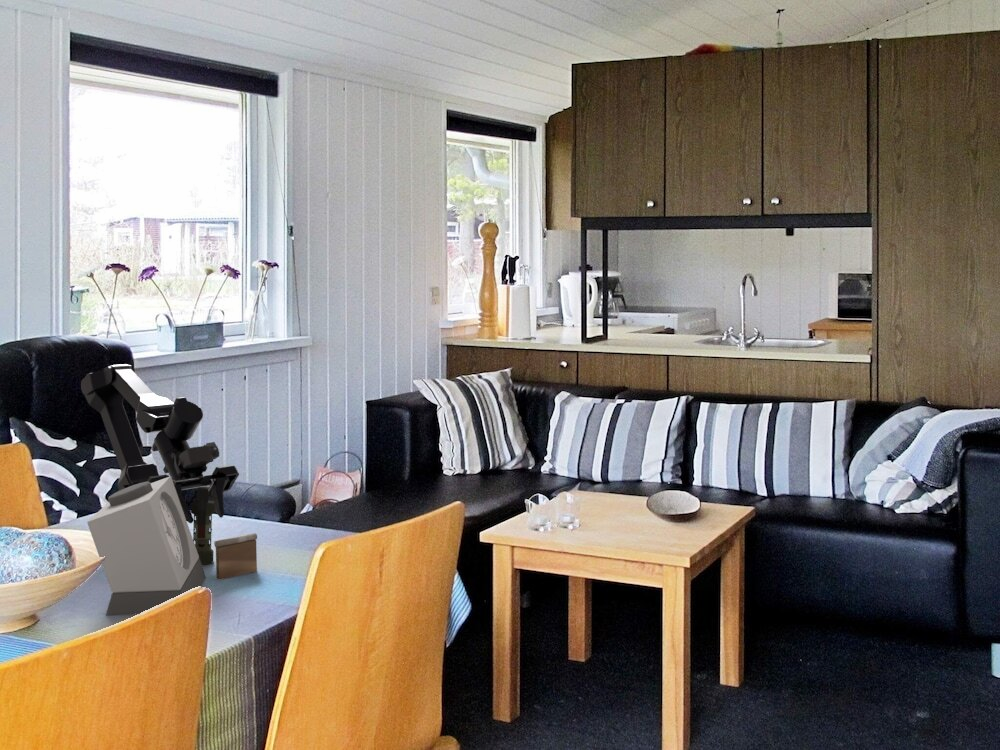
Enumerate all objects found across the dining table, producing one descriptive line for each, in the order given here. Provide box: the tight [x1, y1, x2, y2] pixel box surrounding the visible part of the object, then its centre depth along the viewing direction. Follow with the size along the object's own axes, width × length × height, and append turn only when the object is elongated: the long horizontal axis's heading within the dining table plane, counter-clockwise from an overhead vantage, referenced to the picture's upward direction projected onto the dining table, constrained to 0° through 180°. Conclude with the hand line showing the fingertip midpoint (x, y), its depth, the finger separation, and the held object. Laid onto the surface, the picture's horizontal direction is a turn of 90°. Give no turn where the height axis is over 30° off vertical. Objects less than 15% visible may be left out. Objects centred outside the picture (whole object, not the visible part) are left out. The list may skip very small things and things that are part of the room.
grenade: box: [185, 486, 217, 566], centre depth 218 cm, size 6×6×15 cm
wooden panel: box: [214, 532, 258, 581], centre depth 211 cm, size 1×8×7 cm, turn 135°
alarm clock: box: [86, 475, 207, 616], centre depth 198 cm, size 20×16×20 cm
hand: (207, 519), depth 218 cm, fingers open, 6 cm apart
